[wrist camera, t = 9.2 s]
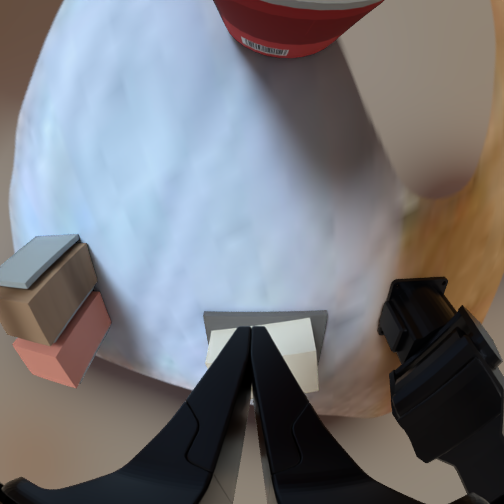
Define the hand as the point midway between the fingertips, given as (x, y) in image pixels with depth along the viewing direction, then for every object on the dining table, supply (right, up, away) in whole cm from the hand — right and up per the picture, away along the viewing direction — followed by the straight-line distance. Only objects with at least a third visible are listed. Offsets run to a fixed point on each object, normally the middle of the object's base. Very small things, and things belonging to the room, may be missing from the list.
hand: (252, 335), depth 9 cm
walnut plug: (-18, +2, +15) cm, 23 cm away
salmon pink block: (-18, -3, +17) cm, 25 cm away
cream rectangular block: (+1, -6, +18) cm, 19 cm away
